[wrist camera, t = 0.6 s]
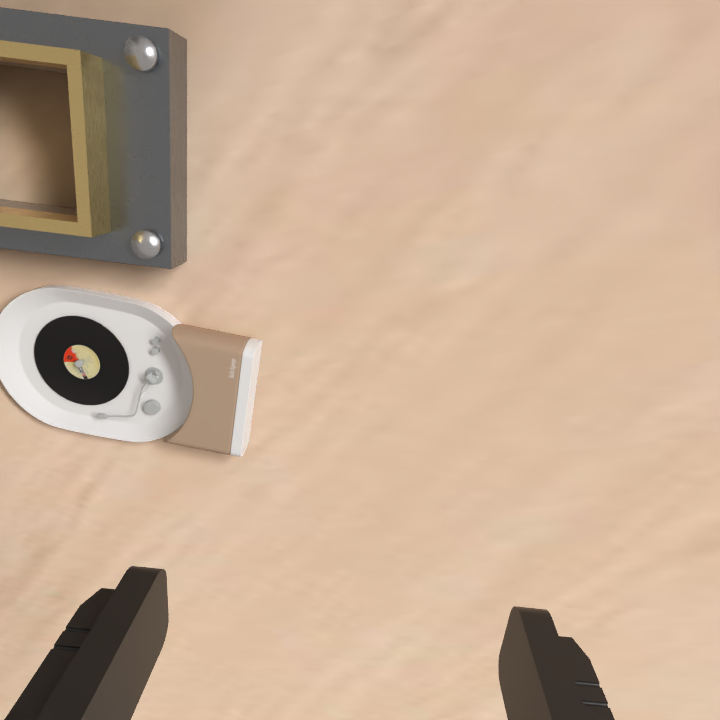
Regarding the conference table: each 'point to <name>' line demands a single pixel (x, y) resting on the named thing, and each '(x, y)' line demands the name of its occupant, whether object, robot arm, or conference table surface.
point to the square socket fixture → (108, 139)
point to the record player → (127, 370)
